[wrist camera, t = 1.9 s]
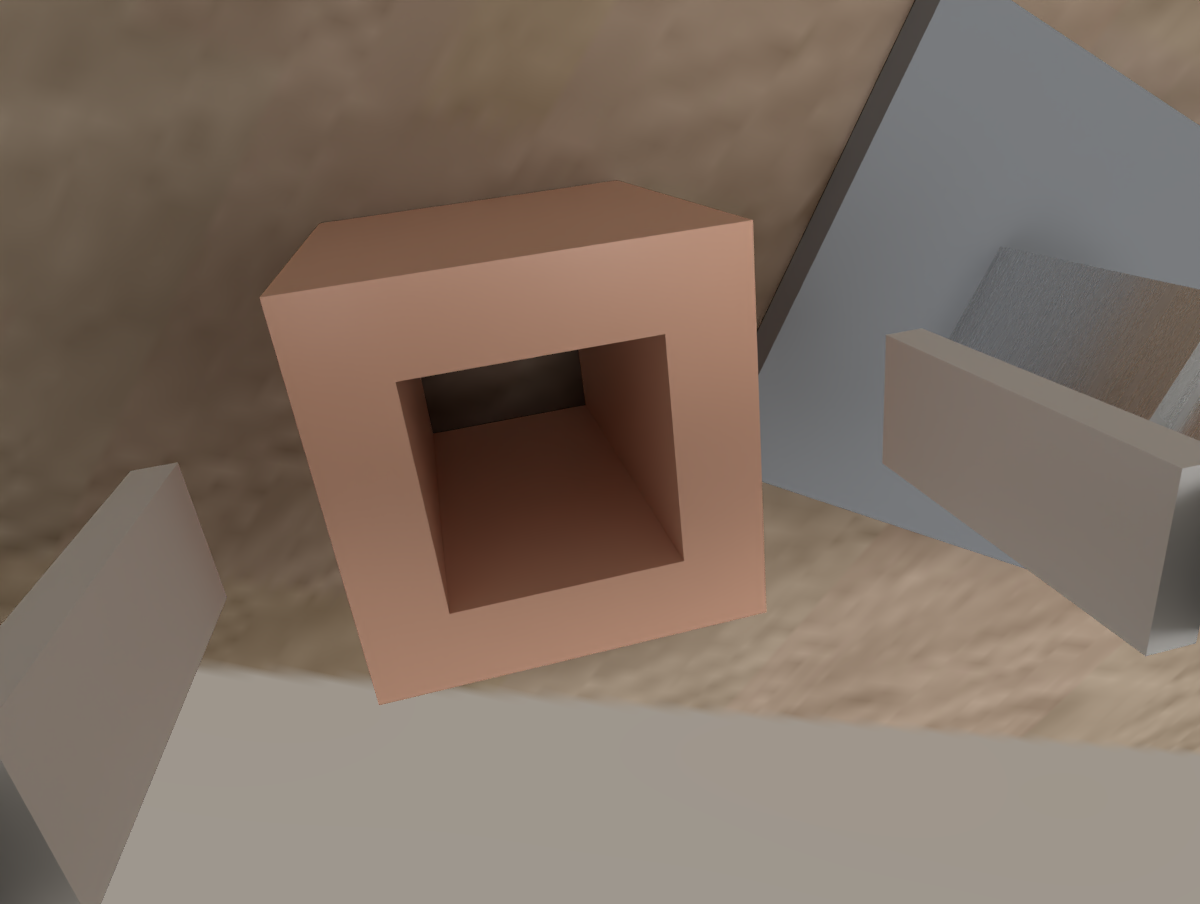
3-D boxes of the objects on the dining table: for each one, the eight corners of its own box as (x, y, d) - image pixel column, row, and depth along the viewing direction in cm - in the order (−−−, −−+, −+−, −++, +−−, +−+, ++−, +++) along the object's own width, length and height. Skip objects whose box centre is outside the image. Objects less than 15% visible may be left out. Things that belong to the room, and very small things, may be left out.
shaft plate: (700, 450, 24) (714, 465, 23) (928, -28, 21) (957, -36, 19) (1026, 559, 29) (1050, 576, 28) (1261, 188, 25) (1298, 191, 24)
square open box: (388, 495, 23) (379, 705, 15) (319, 223, 20) (259, 297, 11) (643, 444, 24) (766, 612, 16) (617, 180, 21) (752, 220, 13)
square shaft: (936, 361, 24) (1177, 472, 16) (1000, 246, 23) (1287, 308, 15) (1023, 398, 25) (1283, 517, 17) (1087, 291, 24) (1391, 368, 16)
